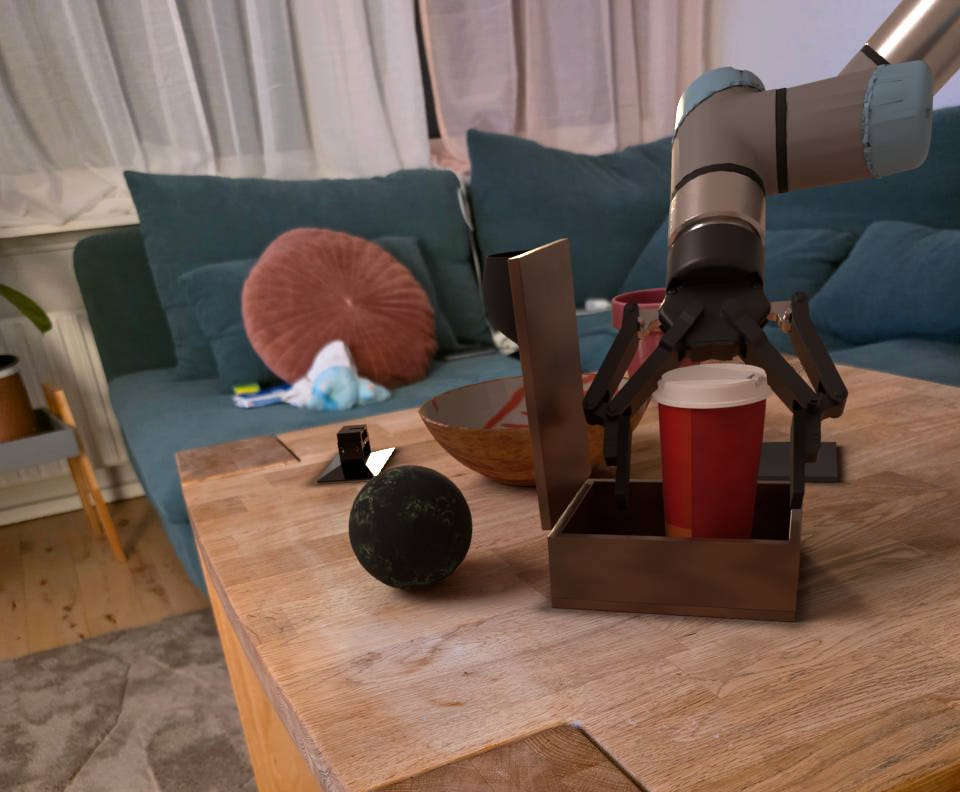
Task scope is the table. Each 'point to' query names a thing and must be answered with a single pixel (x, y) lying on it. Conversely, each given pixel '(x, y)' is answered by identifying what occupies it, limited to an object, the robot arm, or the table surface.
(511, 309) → the wine glass
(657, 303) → the flower pot
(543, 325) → the lid
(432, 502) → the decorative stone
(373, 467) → the black block with wedges
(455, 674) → the table surface
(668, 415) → the coffee cup
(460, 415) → the bowl
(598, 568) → the storage box
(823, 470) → the mat
